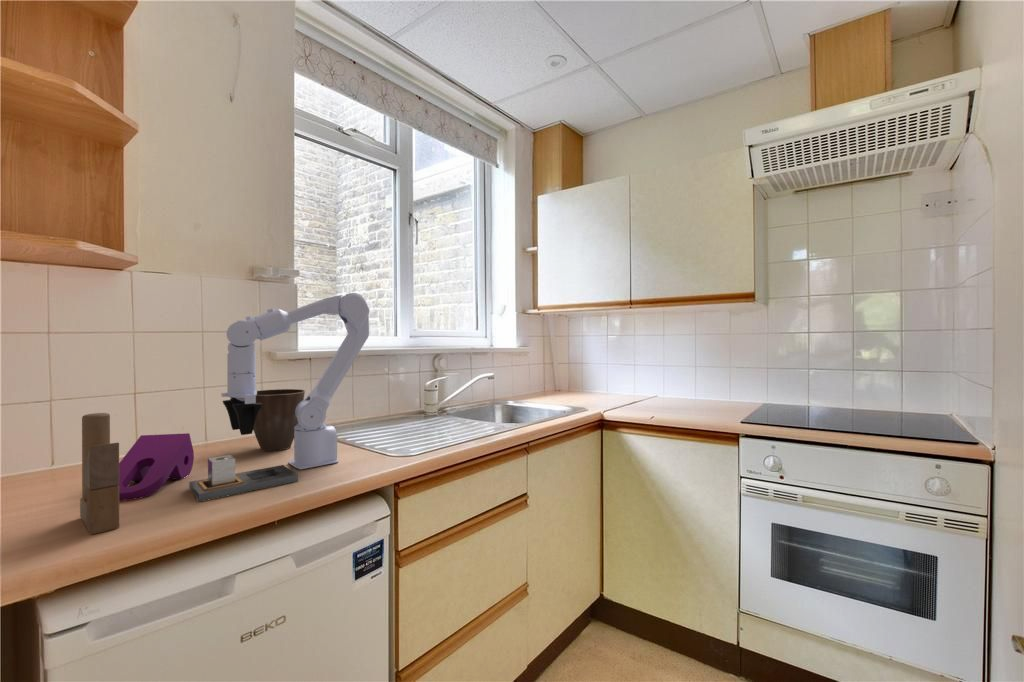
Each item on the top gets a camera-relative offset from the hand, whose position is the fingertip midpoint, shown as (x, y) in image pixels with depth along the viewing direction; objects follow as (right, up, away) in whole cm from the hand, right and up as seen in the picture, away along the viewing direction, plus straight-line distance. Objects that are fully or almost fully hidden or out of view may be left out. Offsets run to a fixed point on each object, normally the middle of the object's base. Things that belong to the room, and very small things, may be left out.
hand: (241, 431), depth 105 cm
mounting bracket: (-14, -10, -10) cm, 19 cm away
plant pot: (-4, -9, +23) cm, 25 cm away
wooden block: (-7, -10, -29) cm, 31 cm away
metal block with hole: (+3, -10, -12) cm, 16 cm away
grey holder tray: (+6, -10, -9) cm, 15 cm away
